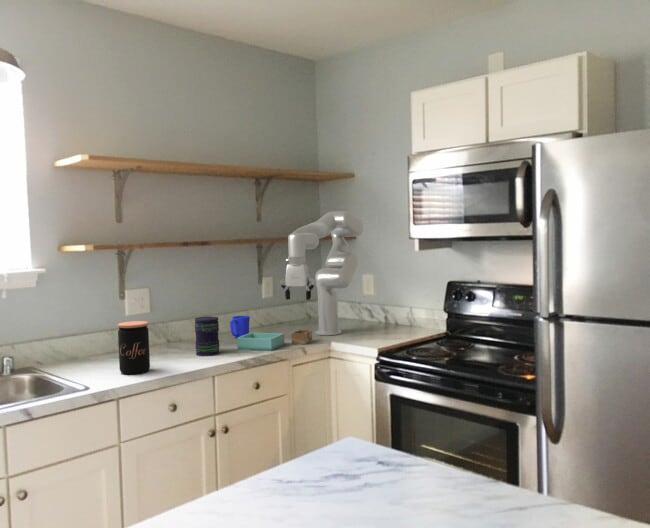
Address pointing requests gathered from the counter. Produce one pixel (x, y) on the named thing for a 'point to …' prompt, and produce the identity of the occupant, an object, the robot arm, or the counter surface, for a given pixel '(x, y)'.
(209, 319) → the storage jar
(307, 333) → the walnut crate
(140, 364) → the coffee jar
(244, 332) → the mug
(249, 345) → the teal crate
